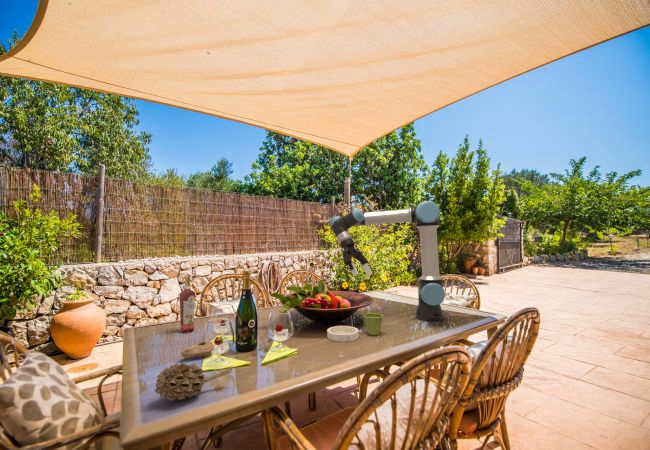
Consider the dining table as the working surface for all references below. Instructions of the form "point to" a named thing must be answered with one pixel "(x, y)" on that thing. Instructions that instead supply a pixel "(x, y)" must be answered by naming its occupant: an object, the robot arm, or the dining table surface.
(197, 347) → the pottery oil lamp
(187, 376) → the banksia seed pod
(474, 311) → the dining table surface
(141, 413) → the dining table surface
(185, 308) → the liquor
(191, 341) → the dining table surface
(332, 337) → the saucer
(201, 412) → the dining table surface
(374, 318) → the plant pot
